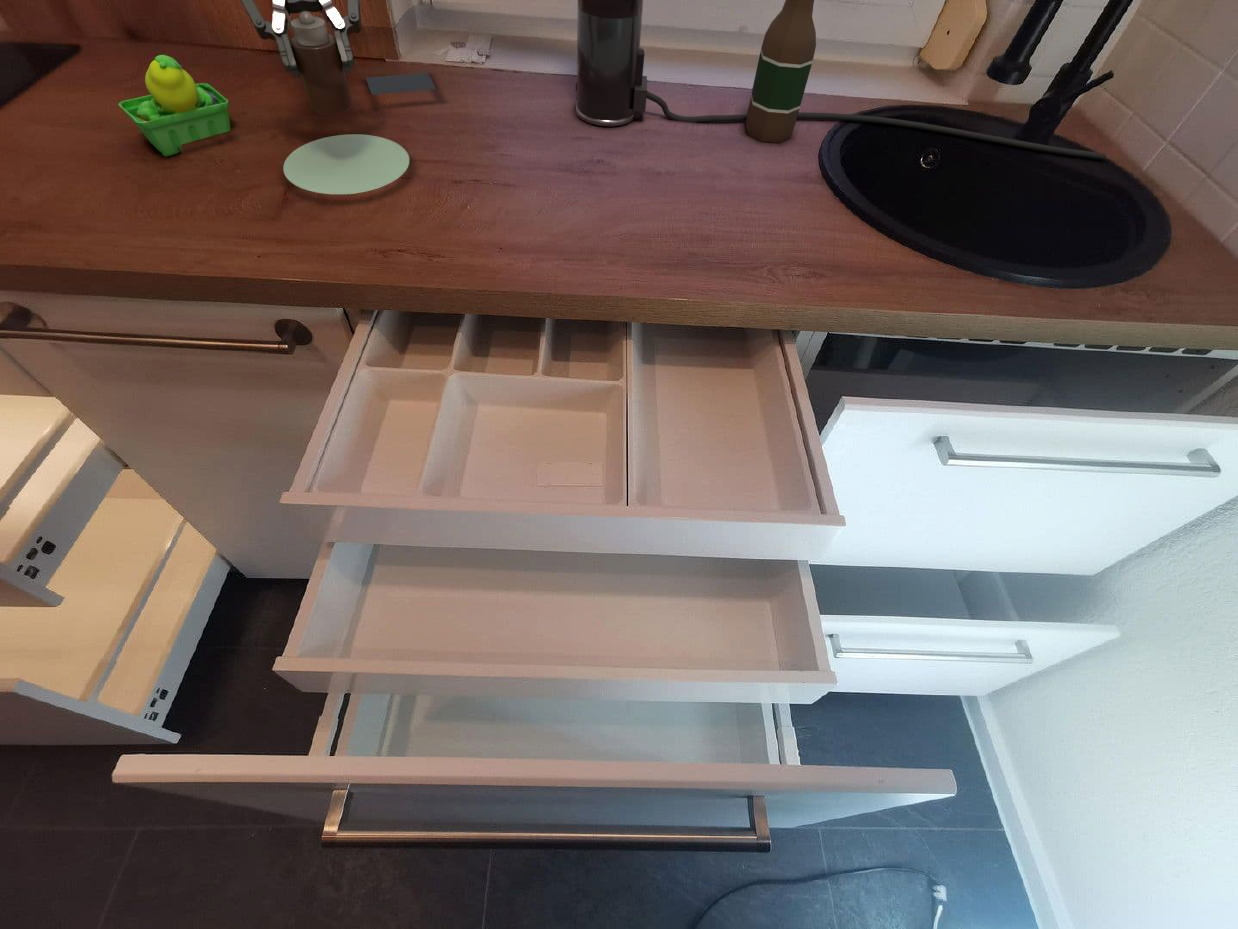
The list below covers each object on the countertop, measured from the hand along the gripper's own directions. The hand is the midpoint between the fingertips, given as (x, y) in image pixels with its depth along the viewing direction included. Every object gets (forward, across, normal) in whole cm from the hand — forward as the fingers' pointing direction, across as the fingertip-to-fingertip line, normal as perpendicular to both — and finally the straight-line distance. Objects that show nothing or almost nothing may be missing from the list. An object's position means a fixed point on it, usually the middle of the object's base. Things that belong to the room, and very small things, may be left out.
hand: (322, 70), depth 72 cm
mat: (-8, +11, +27) cm, 30 cm away
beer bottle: (+11, +63, +8) cm, 64 cm away
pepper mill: (+2, 0, +4) cm, 5 cm away
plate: (+8, 0, +10) cm, 13 cm away
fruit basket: (-1, -19, +19) cm, 27 cm away
